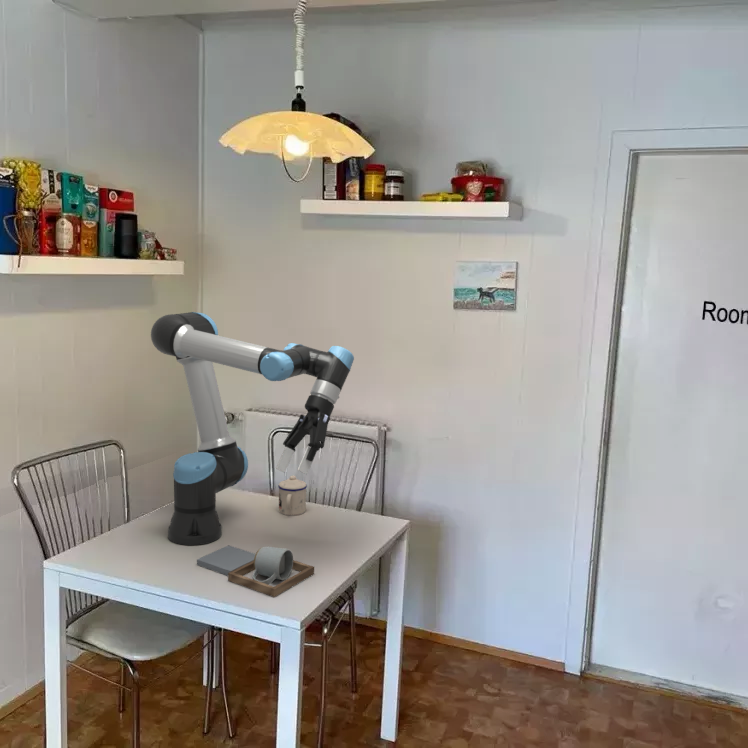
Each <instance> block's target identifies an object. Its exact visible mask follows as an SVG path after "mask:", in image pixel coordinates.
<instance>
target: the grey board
mask: <svg viewBox="0 0 748 748" xmlns="http://www.w3.org/2000/svg"><path fill="white" fill-rule="evenodd" d="M255 555H256V553H254V552H251V551H248V550H245V549H241V548H238V547H236V546H232V545H229V544H228V545H226V546H224V547H221V548H219V549H216V550H215V551H212V552H210V553H208V554H206V555H203V556H201V557H199V558H197V559H196V565H197V566H199V567H202V568H204V567H205V569H207V570H210V569H211V570H210V571H213V572H216V573H219V574H222V575H224V576H227V577H228V573H229V572H232V571H234V570H236V569H238V568H240V567H242V566H244V565H246V564H248V563H250V562H252V561H254V557H255Z"/></svg>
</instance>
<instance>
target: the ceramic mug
mask: <svg viewBox="0 0 748 748" xmlns="http://www.w3.org/2000/svg"><path fill="white" fill-rule="evenodd" d="M256 551H257V552H256V553H255V554H256V555H255V557H254V569H255V570H253V572H252V579H253V580H256V581H259V582H262V583H265V584H268V585H270V584H272V583H273V582H274V581H275V580H280V581H285V580H287V579H289V578H288V577H289V576H290V575H291V573H292V570H293V569H292V566H293V560H294V555H293V552H292V550H291V549H290V548H283V547H282V548H281V547H275V546H274V547H273V546H262V547H260V548H259V549H258V550H256ZM258 575H261V576H264V577H267V579H264V580H258V579H256V578H257V576H258Z"/></svg>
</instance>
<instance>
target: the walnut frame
mask: <svg viewBox="0 0 748 748" xmlns="http://www.w3.org/2000/svg"><path fill="white" fill-rule="evenodd" d="M292 570H295V571H297V573H296V574H294V575H293V576H291V577H289V578H286V579H285V580H282V582H279V583H278V584H276V585H274V586H273V585H270V584H265V583H262V582H259V581H260V580H258V581H256V580H257V579H256V580H253V578H251V577H248V576H245V575H247V574H249V573H251V572H254V571H255V569H254V561H252V562H250V563H248V564H246V565H244V566H242V567H240V568H238V569H236V570H234V571H232V572H229V573H228V576H227V578H228V580H227V582H232V583H234V584H236V585H239V586H241V587H245V588H248V589H250V590H253V591H256V592H258V593H261V594H264V595H267V596H271V597H273V598H275V597H277V596H279V595H280V594H283V593H285V592H286V591H288V590H289V589H291V588H293V587H294V586H296V585H298V584H299V582H300V583H301V582H304V581H305V580H307V579H308V578H310V577H311V575H312V576H314V575H315V566H313V565H310V564H307V563H304V562H300V561H297V560H294V559H293V566H292ZM300 571H301V572H300ZM313 574H314V575H313ZM309 576H310V577H309ZM306 578H307V579H306ZM304 579H305V580H304ZM297 583H298V584H297ZM292 586H293V587H292ZM287 589H288V590H287Z"/></svg>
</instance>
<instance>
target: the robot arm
mask: <svg viewBox="0 0 748 748" xmlns="http://www.w3.org/2000/svg"><path fill="white" fill-rule="evenodd" d="M150 339H151V342H152V344H153V346H154V347H155V349H156V350H157V351H159V352H160V353H162V354H164V355H168V356H172V357H175V358H176V362H178V363H179V364H181V365H182V366H183V371H184V374H185V380H186V382H187V383H186V384H187V387H188V392H189V397H190V400H191V405H192V408H193V413H194V417H195V422H196V425H197V430H198V434H199V438H200V439H199V440H200V444H199V446H198V448H197V451H196V452H195V451H194V452H193V453H186V454H184V455H182V456H180V457H179V458H177V460H176V461H175V462H174V466H173V473H172V475H173V514H172V517H171V519H170V520H171V521H170V525H169V526H168V528H167V538H168V540H169V541H170V542H172V543H174V544H177V545H182V546H183V545H184V546H199V545H200V546H201V545H207V544H209V543H213V542H215V541H217V540H218V539H220V538H221V536H222V533H223V532H222V531H223V529H222V528H223V527H222V524H221V522H220V519H219V515H218V512H217V507H216V502H217V500H216V498H217V497H216V494H218V493H219V492H222V491H223V490H226V489H228V488H230V487H233V486H235V485H237V484H238V483H239V482H241V481H242V480H243V479H244V478H245V476H246V474H247V473H248V469H249V460H248V456H247V454H246V453H245V450H242V448H241V447H240V446H238V445H237V444H238V443H237V441H236V439H235V438H233V437H232V436H231V435H230V432H229V428H228V423H227V418H226V416H225V412H224V407H223V402H222V397H221V394H220V390H219V385H218V381H217V377H216V372H215V369H214V368H215V366H214V363H215V364H219V365H222V366H226V367H230V368H234V369H239V370H242V371H247V372H250V373H254V374H257V375H258V374H259V375H261V376H263V377H264V379H267V380H268V381H270V382H281V381H285V380H288V379H290V378H293V377H298V376H300V375H303V374H304V375H308V376H312V377H314V378H316V379H315V381H314V383H313V385H312V388H311V389H310V395H308V397H307V400H306V402H305V404H304V409H305V410H306V411H307V413H306V415H304V414H301V415H300V416H299V418H298V419H297V422H296V423H295V425H294V426H293V427H292V429H291V430H290V432H289V433H288V435H287V437H285V440H284V441H283V443H282V445H283V446H284V447H285V448H284V450H283V451H282V454H281V456H280V459H279V460H278V463H277V465H276V467H275V470H278V471H280V472H282V473H284V474H285V473H286V472H287V470H288V467H289V465H290V463H291V461H292V458H293V456H294V453H295V452H296V448H297V446H298V445H299V444H300V442H302V440H303V439H304V438H305V437H306V435H309V442H308V443H307V447H306V449H305V451H304V454H303V457H302V458H301V460H300V463H299V465H298V468H297V471H298V472H300V473H303V474H304V475H308V474H309V471H310V468H311V466H312V464H313V462H314V459H315V457H316V455H317V453H318V451H319V450H320V449H321V450H323V449H324V448H325V442H326V436H327V431H328V426H329V422H330V420H331V415H332V414H333V410H334V408H335V406H334V405H336V403H337V400H339V399H340V394H341V392H342V389H343V387H344V385H345V382H346V380H347V377H348V376H349V374H350V372H351V369H352V366H353V363H354V360H355V357H354V354H353V353H352V352H351V351H350V350H349V349H347V348H345V347H343V346H340V345H332V346H331V347H330V348H329V349H328V351H323V350H319V349H316V348H312V347H309V346H306V345H303V344H302V343H301V344H300V343H299V344H298V343H294V342H290V343H288V344H287V345H286V346H285V347H284V348H283V350H281V349H278V348H277V349H276V348H272V347H267V346H264V345H261V344H256V343H251V342H246V341H243V340H238V339H235V338H232V337H226V336H223V335H222V336H221V335H219V329H218V327H217V324H216V322H215V321H214V319H212V318H211V317H210V316H209V315H207V314H206V313H203V312H197V311H196V312H195V311H191V312H182V313H181V312H180V313H175V314H173V313H171V314H165V315H163V316H161V317H159V318H158V319H157V320H155V321H154V323H153V325H152V327H151V331H150Z"/></svg>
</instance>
